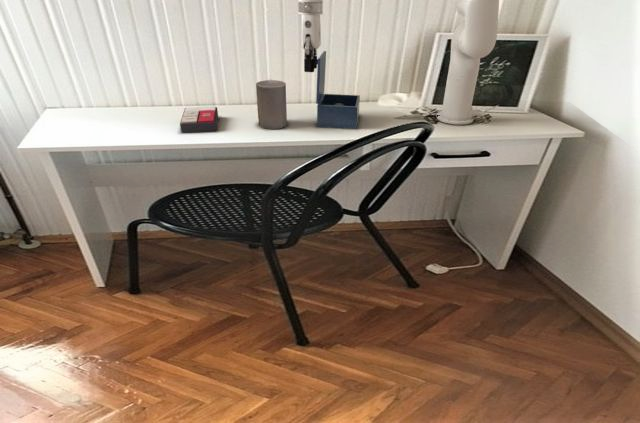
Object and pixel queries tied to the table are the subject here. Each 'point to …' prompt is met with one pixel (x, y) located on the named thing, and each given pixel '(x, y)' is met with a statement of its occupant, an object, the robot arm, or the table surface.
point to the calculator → (199, 119)
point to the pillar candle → (271, 104)
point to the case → (338, 111)
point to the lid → (320, 76)
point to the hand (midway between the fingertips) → (310, 69)
